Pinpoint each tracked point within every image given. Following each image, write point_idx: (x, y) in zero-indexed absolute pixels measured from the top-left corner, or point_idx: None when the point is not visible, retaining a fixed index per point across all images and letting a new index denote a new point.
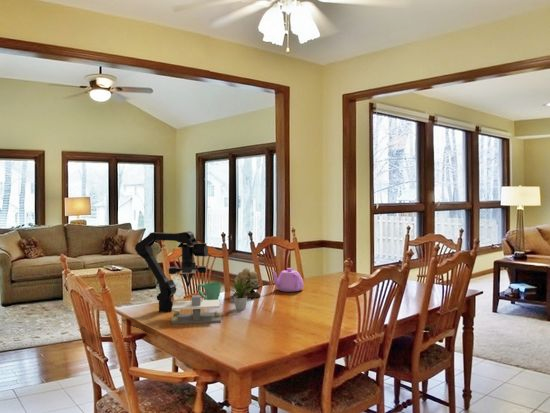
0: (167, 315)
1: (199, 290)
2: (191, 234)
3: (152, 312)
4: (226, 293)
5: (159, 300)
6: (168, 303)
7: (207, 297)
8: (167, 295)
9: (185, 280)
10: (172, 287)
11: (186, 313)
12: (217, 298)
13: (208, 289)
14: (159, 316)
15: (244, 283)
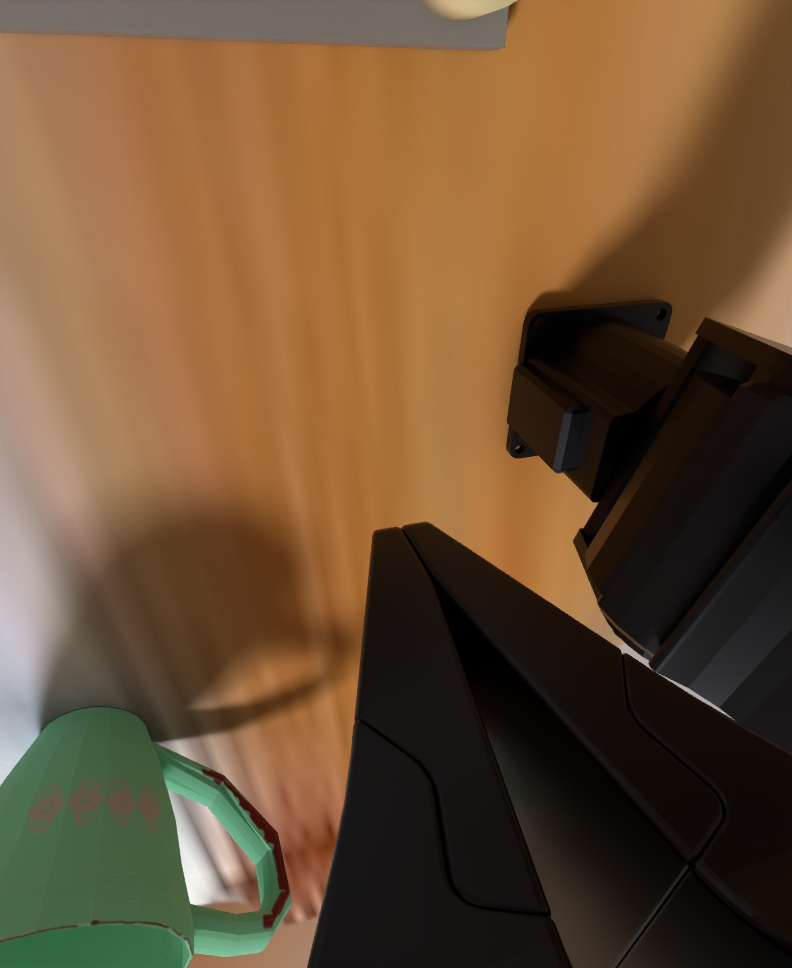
0: (582, 103)
1: (265, 854)
2: None
3: (717, 312)
4: None
5: (779, 343)
6: (613, 373)
7: (139, 757)
8: (758, 340)
9: (616, 666)
10: (769, 509)
11: (286, 19)
12: (8, 775)
13: (89, 858)
14: (692, 53)
15: None
